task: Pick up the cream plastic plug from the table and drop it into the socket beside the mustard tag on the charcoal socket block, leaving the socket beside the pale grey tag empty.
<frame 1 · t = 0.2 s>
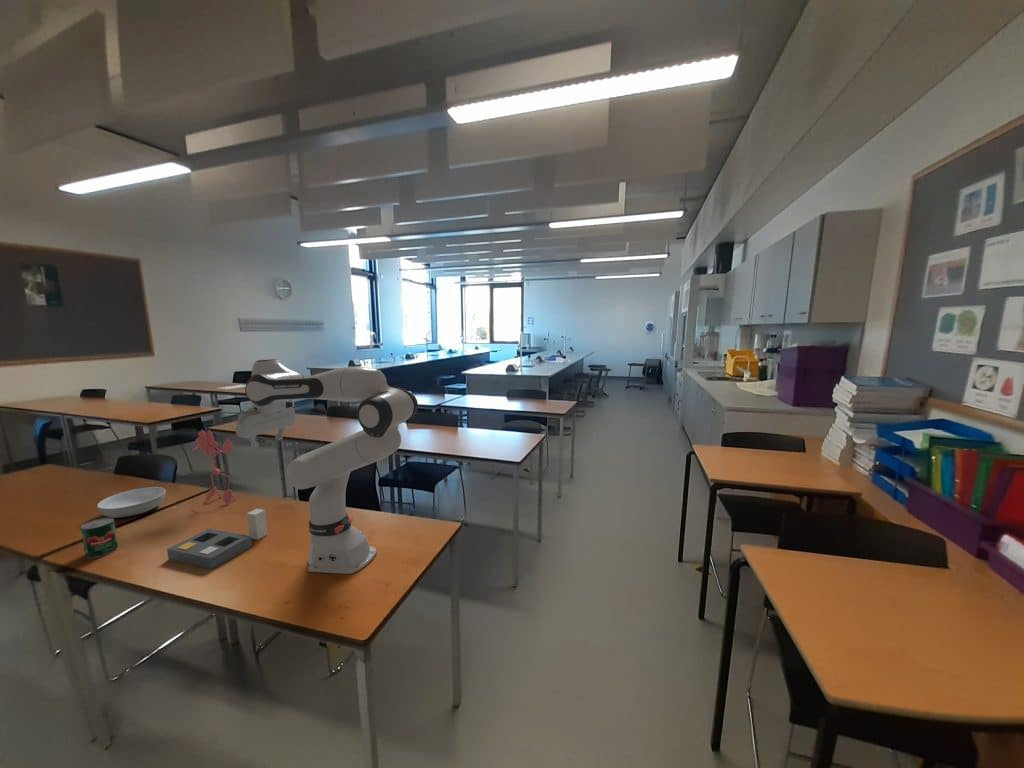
hand: (267, 443, 131), 39 cm above the table, tool pointing down, fingers open, 8 cm apart
serving bowl: (135, 512, 162), on the table
canned tomato: (102, 552, 132), on the table
figurine: (213, 505, 168), on the table
plug: (258, 536, 142), on the table
socket block: (211, 552, 132), on the table
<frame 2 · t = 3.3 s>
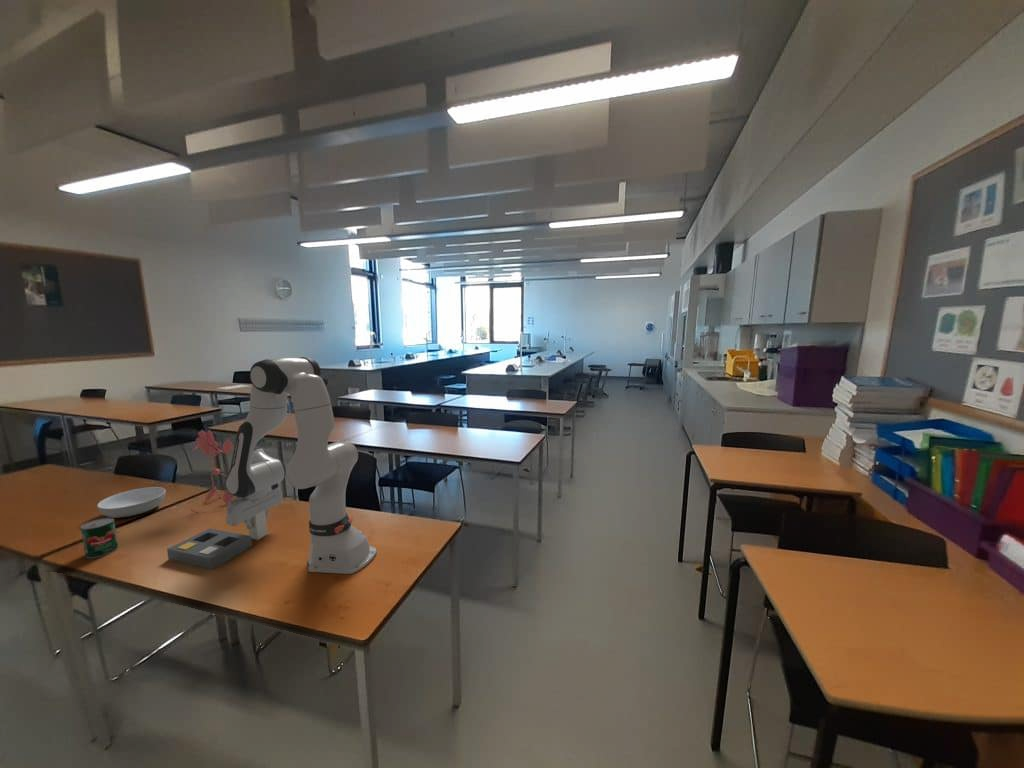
hand: (257, 524, 142), 5 cm above the table, tool pointing down, fingers closed on plug, 4 cm apart
plug: (258, 536, 142), on the table, touching gripper
everything else where it was.
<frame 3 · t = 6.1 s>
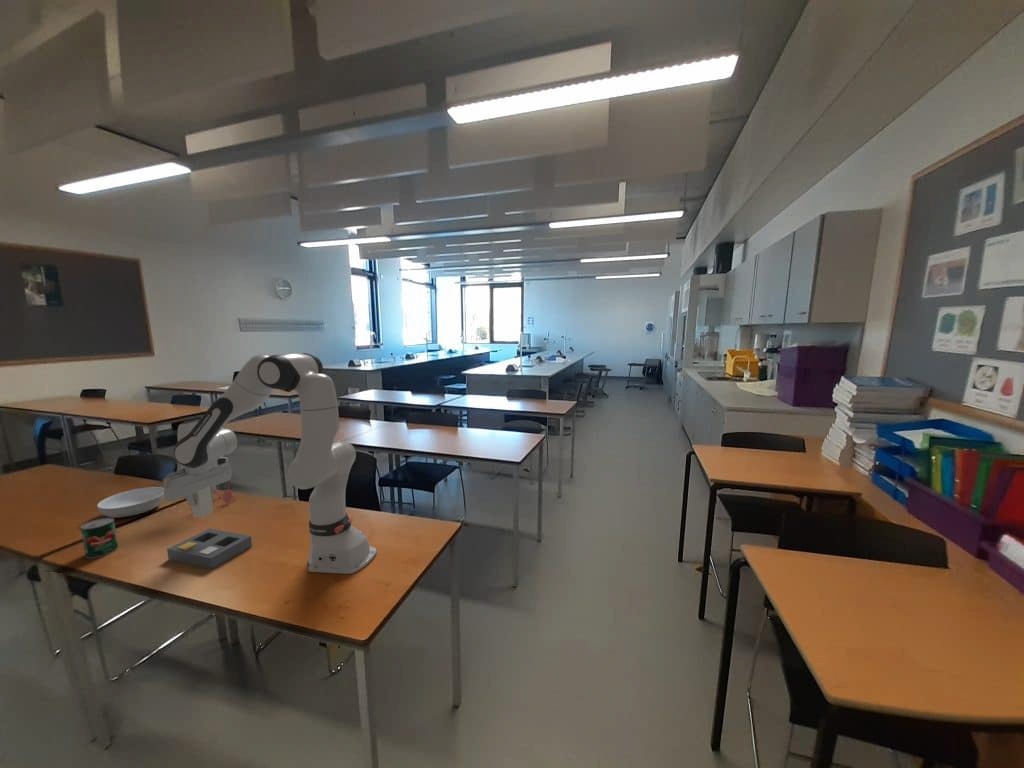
hand: (201, 502, 133), 17 cm above the table, tool pointing down, fingers closed on plug, 4 cm apart
plug: (202, 514, 133), point 13 cm above the table, touching gripper
everything else where it was.
when the fingers open (6 cm above the table, at t = 9.2 s): plug stays where it is, resting in socket block.
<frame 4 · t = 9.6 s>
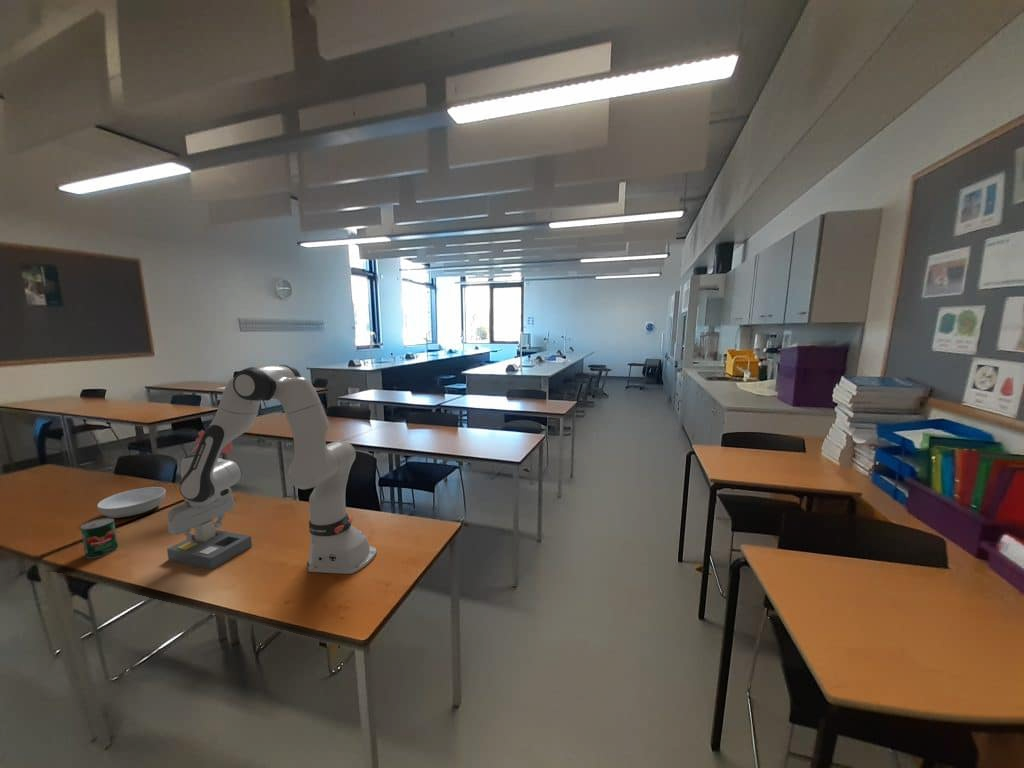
hand: (205, 533, 134), 6 cm above the table, tool pointing down, fingers open, 8 cm apart
plug: (207, 547, 135), resting in socket block
everything else where it was.
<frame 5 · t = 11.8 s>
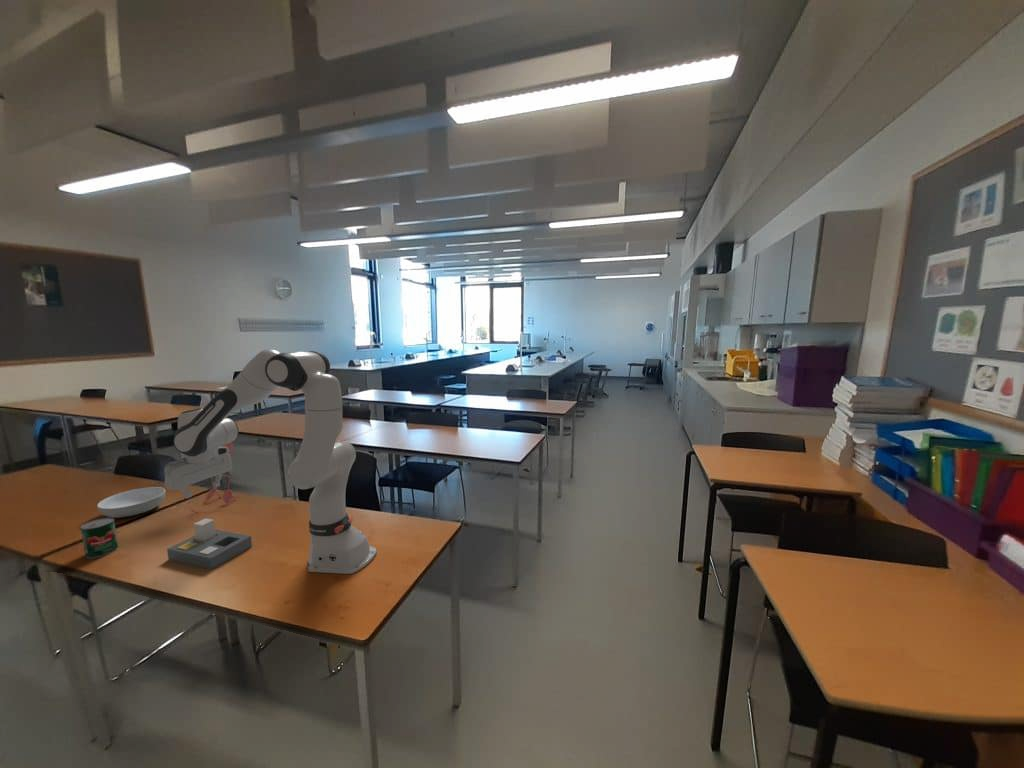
hand: (202, 491, 132), 21 cm above the table, tool pointing down, fingers open, 8 cm apart
nothing on the table moved.
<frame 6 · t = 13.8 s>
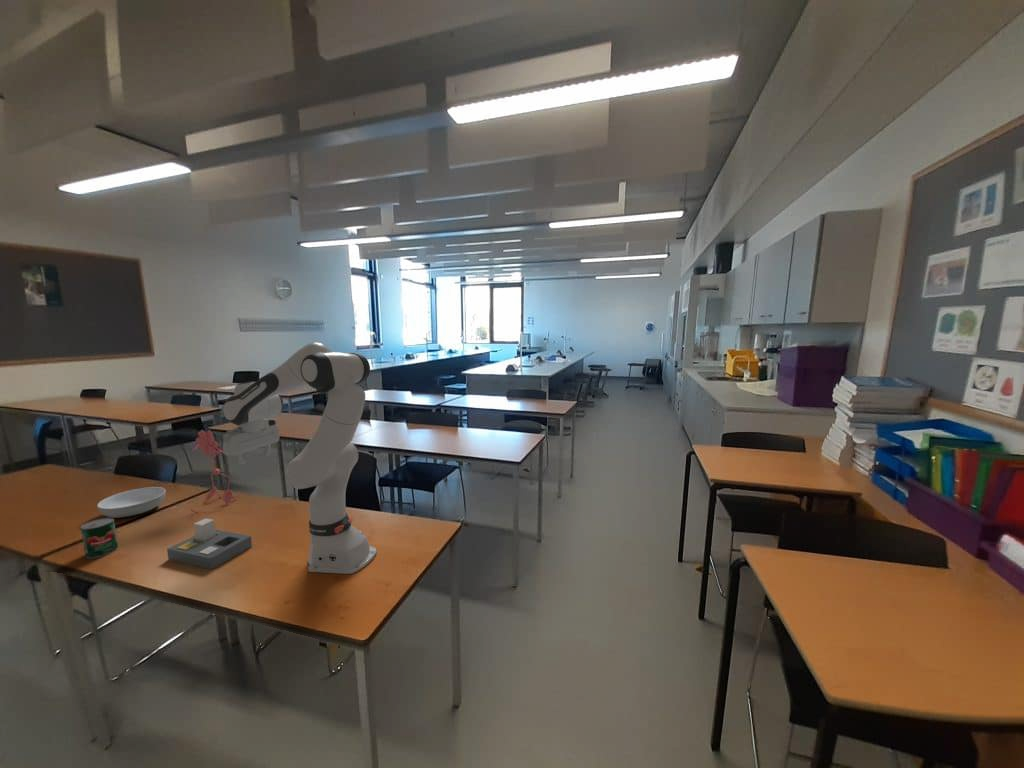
hand: (254, 459, 142), 29 cm above the table, tool pointing down, fingers open, 8 cm apart
nothing on the table moved.
at the end: plug 0.0 cm from the target spot on the socket block, point 0.0 cm above the socket block's base; plug tilted 0°; the gripper is holding nothing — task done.
